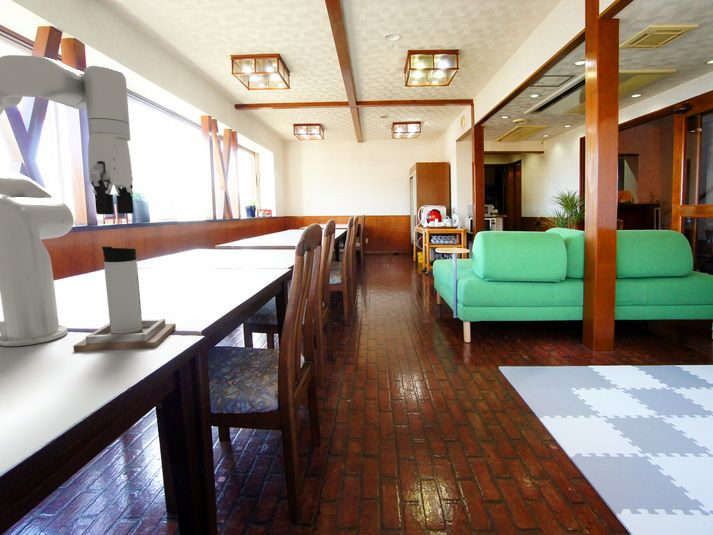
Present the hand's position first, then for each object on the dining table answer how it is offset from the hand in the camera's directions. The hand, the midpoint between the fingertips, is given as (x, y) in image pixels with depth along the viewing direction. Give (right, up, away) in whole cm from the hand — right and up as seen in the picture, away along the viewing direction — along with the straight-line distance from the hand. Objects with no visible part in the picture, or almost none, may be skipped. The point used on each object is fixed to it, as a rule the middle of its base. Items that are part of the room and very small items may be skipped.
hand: (116, 213), depth 88 cm
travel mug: (0, -27, +3) cm, 27 cm away
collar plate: (+1, -28, +4) cm, 28 cm away
